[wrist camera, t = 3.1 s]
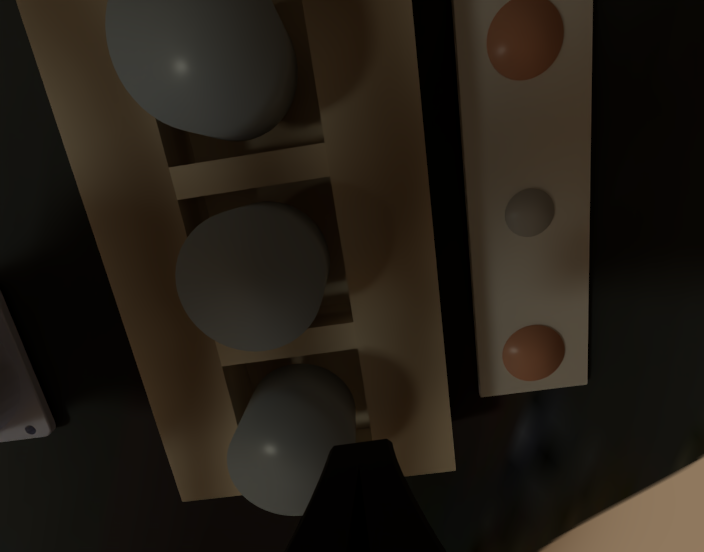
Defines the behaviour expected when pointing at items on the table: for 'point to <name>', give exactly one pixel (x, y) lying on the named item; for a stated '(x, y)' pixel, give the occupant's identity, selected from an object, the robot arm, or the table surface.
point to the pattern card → (527, 186)
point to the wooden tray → (276, 186)
